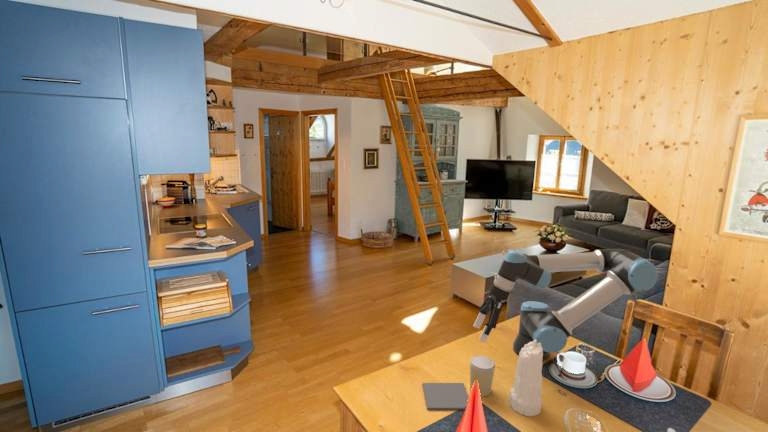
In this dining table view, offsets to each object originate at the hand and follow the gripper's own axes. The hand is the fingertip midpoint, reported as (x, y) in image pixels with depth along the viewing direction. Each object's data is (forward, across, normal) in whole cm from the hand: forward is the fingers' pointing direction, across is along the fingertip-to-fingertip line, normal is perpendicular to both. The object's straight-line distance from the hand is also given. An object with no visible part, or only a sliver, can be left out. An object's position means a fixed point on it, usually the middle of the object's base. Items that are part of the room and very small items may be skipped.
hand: (478, 334), depth 160 cm
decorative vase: (+12, +18, +20) cm, 30 cm away
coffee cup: (+17, +10, +6) cm, 21 cm away
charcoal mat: (+22, +16, -6) cm, 28 cm away
